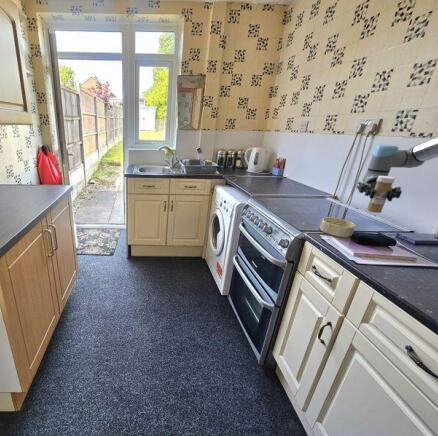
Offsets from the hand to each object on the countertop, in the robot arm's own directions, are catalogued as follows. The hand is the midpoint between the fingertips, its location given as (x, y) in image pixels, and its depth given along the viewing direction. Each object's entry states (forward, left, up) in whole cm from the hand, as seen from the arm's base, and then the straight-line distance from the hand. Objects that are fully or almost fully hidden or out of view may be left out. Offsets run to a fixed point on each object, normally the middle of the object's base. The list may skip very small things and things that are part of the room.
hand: (381, 196), depth 88 cm
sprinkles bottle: (-1, -5, -7) cm, 9 cm away
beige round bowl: (+6, -17, -22) cm, 28 cm away
